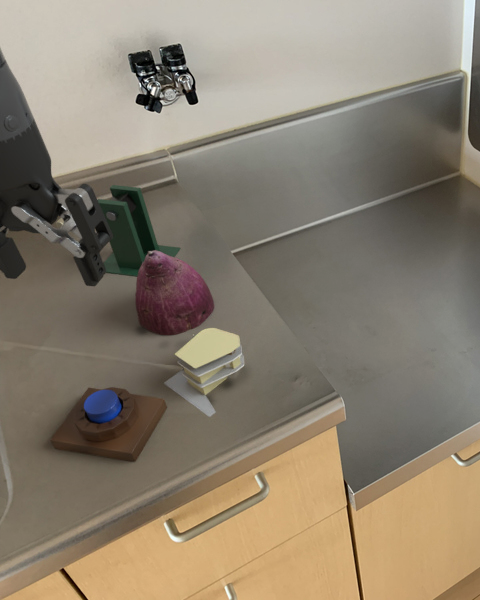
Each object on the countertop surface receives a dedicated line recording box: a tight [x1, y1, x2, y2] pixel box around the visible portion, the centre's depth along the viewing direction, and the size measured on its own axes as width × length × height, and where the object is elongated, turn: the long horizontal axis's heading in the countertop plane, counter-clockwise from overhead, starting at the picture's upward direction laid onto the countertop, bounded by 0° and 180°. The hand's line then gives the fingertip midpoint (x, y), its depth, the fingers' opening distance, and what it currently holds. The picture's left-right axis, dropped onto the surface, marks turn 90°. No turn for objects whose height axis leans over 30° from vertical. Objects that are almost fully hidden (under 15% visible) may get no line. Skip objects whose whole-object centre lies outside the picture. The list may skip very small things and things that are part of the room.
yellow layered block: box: [163, 327, 245, 418], centre depth 78 cm, size 10×9×6 cm
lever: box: [55, 193, 137, 228], centre depth 91 cm, size 12×5×2 cm, turn 80°
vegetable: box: [134, 250, 215, 336], centre depth 83 cm, size 10×10×15 cm
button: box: [84, 390, 121, 423], centre depth 70 cm, size 4×4×2 cm
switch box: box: [50, 386, 168, 463], centre depth 72 cm, size 10×8×4 cm
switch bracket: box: [97, 184, 182, 278], centre depth 93 cm, size 10×8×13 cm
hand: (56, 277), depth 61 cm, fingers open, 8 cm apart
